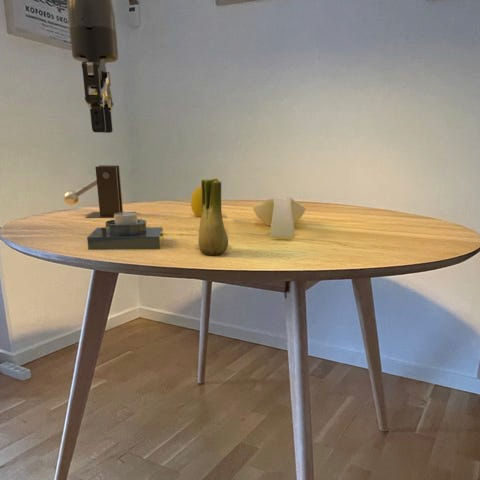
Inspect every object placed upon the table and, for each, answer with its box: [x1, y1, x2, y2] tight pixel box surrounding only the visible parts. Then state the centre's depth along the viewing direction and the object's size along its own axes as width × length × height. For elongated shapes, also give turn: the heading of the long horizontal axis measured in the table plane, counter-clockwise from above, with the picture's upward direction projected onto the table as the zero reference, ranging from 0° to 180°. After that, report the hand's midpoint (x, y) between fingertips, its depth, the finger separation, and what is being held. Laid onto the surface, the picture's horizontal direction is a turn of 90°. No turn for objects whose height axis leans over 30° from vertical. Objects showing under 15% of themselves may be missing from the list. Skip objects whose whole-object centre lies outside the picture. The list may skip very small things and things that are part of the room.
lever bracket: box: [85, 164, 137, 219], centre depth 106 cm, size 10×8×12 cm
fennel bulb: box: [197, 178, 229, 256], centre depth 75 cm, size 6×5×12 cm
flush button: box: [113, 211, 139, 224], centre depth 82 cm, size 4×4×2 cm
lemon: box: [190, 184, 202, 218], centre depth 107 cm, size 6×6×8 cm
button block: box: [86, 218, 164, 251], centre depth 83 cm, size 12×9×4 cm
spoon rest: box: [252, 196, 307, 240], centre depth 98 cm, size 24×12×7 cm, turn 179°
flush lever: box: [63, 166, 111, 206], centre depth 105 cm, size 13×3×3 cm, turn 96°
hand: (103, 132), depth 84 cm, fingers open, 8 cm apart
